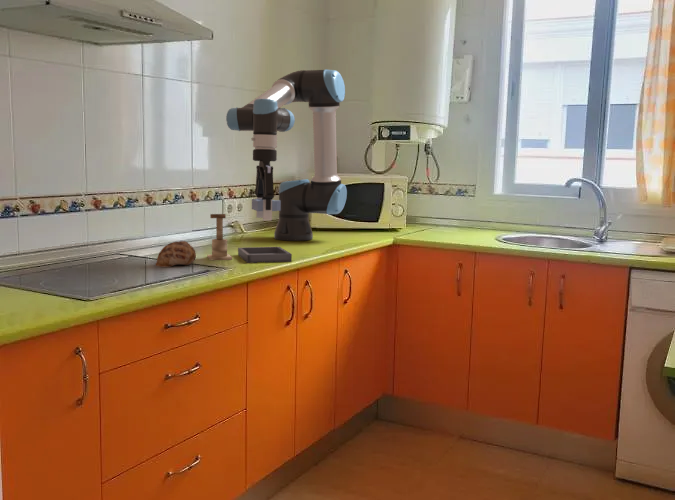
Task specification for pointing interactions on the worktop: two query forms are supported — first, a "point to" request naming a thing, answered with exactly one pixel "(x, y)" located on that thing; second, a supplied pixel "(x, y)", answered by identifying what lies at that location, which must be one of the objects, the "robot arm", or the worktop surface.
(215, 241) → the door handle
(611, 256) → the worktop surface
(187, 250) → the seashell
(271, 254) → the tray
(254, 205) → the ring
